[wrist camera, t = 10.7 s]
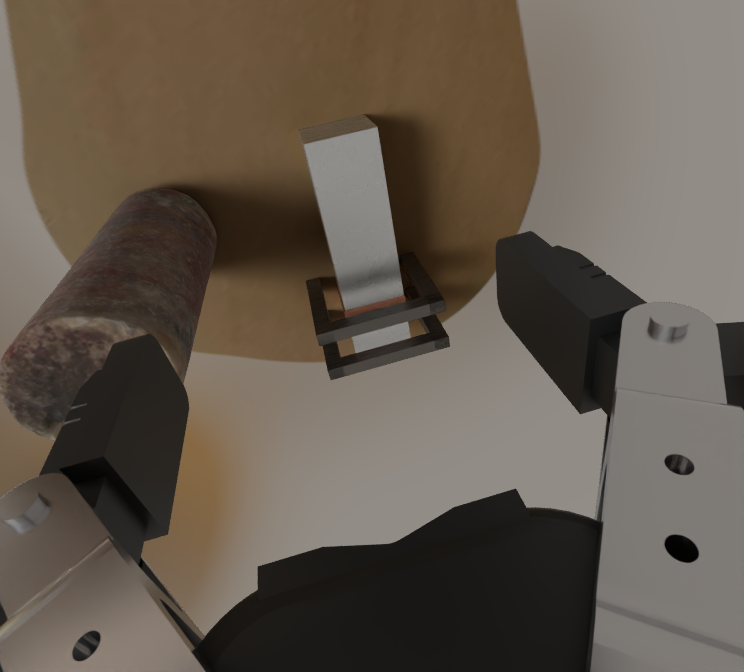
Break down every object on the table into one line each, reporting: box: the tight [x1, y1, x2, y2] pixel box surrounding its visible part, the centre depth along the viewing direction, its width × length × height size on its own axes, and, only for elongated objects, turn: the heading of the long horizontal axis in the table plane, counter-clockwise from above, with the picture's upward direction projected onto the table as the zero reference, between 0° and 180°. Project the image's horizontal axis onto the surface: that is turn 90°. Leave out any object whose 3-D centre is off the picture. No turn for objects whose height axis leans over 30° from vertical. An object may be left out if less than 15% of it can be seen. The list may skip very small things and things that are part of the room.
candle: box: [0, 189, 217, 441], centre depth 28 cm, size 8×7×20 cm
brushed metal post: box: [298, 114, 411, 353], centre depth 38 cm, size 18×5×5 cm, turn 10°
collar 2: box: [323, 287, 450, 380], centre depth 41 cm, size 1×10×9 cm, turn 101°
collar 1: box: [306, 252, 446, 346], centre depth 38 cm, size 1×10×9 cm, turn 101°
